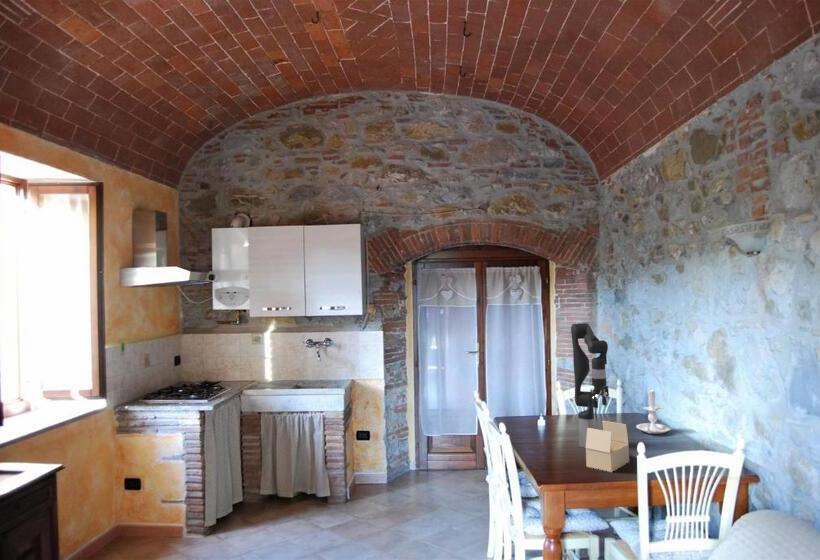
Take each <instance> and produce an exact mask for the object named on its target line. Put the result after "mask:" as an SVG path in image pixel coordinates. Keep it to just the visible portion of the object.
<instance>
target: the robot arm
mask: <svg viewBox="0 0 820 560" xmlns="http://www.w3.org/2000/svg"><path fill="white" fill-rule="evenodd" d="M570 334H571V344H572V353H573V354H572V355H573V359H572V360H573V361H572V362H573V374H574V375H573V376H574V402H575V405H576V406H577V407H584V408H587V409H585V410H583V411H580V412H579V411H578V413H577V416H578V417H577V419H578V422H577V423H578V442H579V443H578V446H579V447H581V448H584V449H586V437H587V428H593V429H595V411H594V410H595V409H598V408H599V398H600V397H601V404H602V406H607V398H609V397H610V394H609V386H608V385H607V370H606V358H607V354H608V350H609V345H608V342H607V341H605V340H599V338H598V337H597V336H596V335H595V334H594V331H593V330H592V328H591V326H590V324H588V323H582V322H581V323H574V324H573V323H572V325H571V326H570ZM581 339H582V340H583V341H584V344H585V345H586V346H587V350H588V352H589V353H590V354H592V355H593V354H595V355H596V354H599V356H596V357H592V358H591V367H590V360H589V357H588V356H587V354H586V352H585V351H584V350H583V349H582V347H581V345H580V343H579V340H581ZM590 369H591V371H590ZM590 372H591V385H592V386H593V388H590V390H589V391H584V390H583V391H582V390H581V388H582V385H583V382H584V381H585V380H586V378H587V376H588V375H589V373H590Z"/></svg>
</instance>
